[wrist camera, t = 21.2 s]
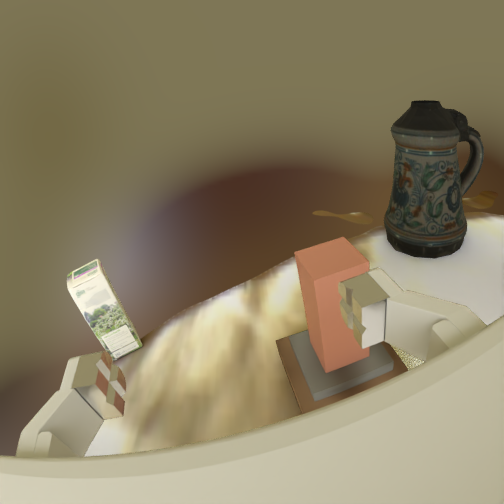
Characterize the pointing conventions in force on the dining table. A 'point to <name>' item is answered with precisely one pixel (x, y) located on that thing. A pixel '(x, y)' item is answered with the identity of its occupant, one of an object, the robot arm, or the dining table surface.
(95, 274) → the syrup box
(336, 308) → the carton
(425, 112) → the beer stein
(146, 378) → the dining table surface
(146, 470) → the robot arm
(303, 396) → the podium
